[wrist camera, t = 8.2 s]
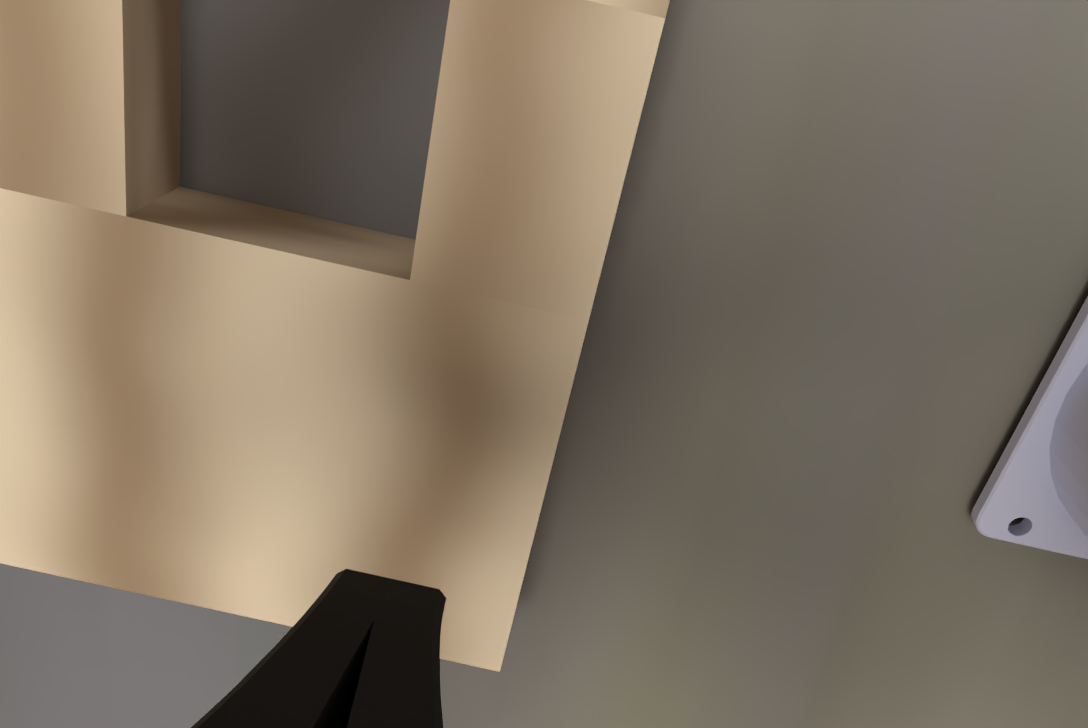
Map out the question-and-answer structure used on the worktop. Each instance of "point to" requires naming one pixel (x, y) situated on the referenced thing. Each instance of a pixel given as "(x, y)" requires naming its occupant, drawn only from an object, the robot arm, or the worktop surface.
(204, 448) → the board
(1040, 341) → the worktop surface
